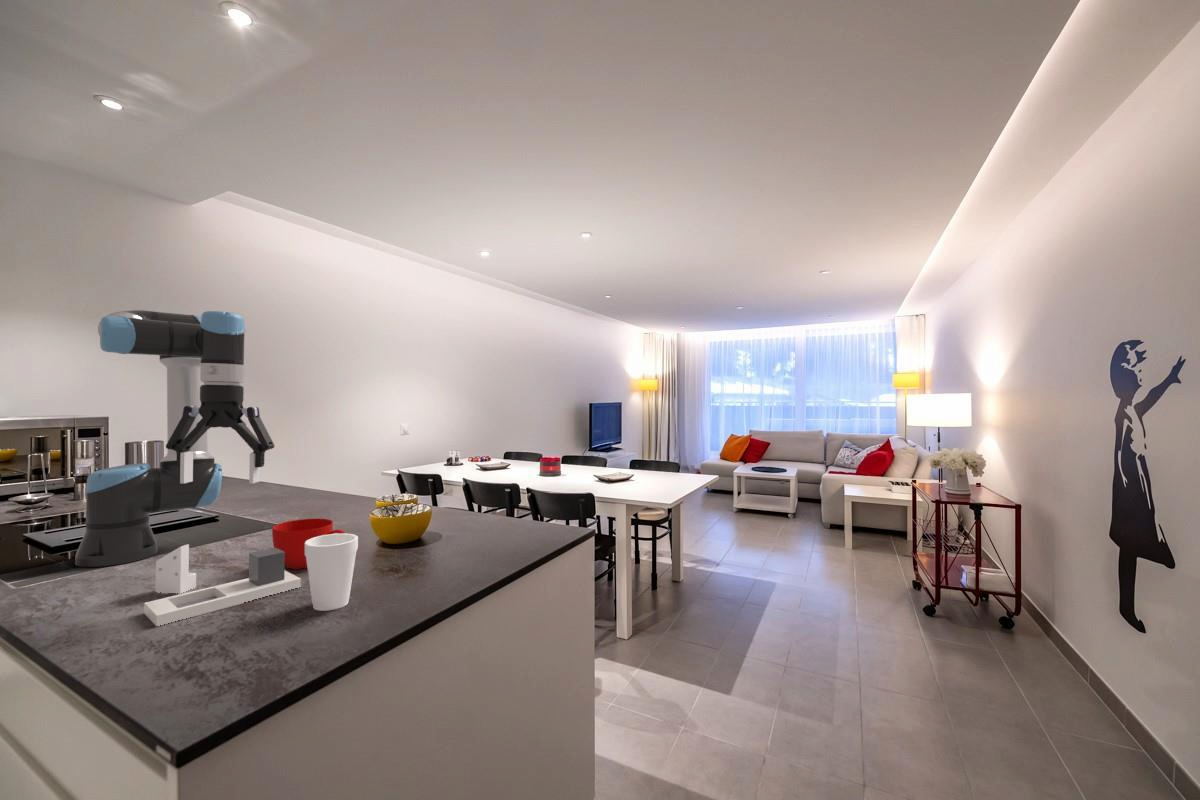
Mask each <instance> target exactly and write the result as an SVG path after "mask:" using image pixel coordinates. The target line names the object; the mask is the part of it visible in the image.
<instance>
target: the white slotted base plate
mask: <svg viewBox="0 0 1200 800" xmlns="http://www.w3.org/2000/svg"><path fill="white" fill-rule="evenodd" d="M285 566H286V565H285V552H284V551H281V550H279V549H277V548H274V547H273V548H272V547H271V548H268V549H263V550H262V549H261V550H259V551H258V550H257V551H252V552H249V553H248V577H247V578H243V579H239V580H235V581H231V582H227V583H226V582H225V583H221V584H218V585H217V584H216V585H214V586H208V587H206V588H202V589H197V590H194V591H192V590H191V591H187V592H184V593H182V594H174V595H172V596H168V597H163V598H160V599H154V600H151V601H146V602H144V605H143V606H144V607H143V610H144V611H143V613H144V615H145V616H146V617H147V618H148V619H149V620H150V622H152V624H153V625H154V626H155V627H157V626H158V627H161V626H164V624H165V625H168V623H169V624H172V623H176V622H179V621H178V620H180V621H183V620H186V618H187V619H190V617H191V618H194V617H197V616H202V615H205V614H209V613H213V612H216V611H219V610H224V609H227V608H231V607H234V606H238V605H242V604H245V603H244V602H246V603H249V602H248V601H250V602H253V601H252V600H254V599H257V600H259V599H258V598H261V599H263V598H262V597H265V596H268V597H270V596H269V595H272V596H274V595H273V594H276V595H278V594H277V593H279V594H281V593H280V592H283V593H286V592H285V591H287V592H289V591H288V590H290V591H292V590H291V589H294V590H296V589H295V588H298V589H300V588H299V587H302V578H301V577H299V576H297V575H295V574H293V573H291V572H289V571H287V570H286V567H285ZM265 598H266V597H265ZM254 601H255V600H254ZM182 619H183V620H182ZM175 621H176V622H175ZM171 622H172V623H171ZM160 625H161V626H160Z"/></svg>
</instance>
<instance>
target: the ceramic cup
mask: <svg viewBox="0 0 1200 800" xmlns="http://www.w3.org/2000/svg"><path fill="white" fill-rule="evenodd" d="M333 529H334V521H333V520H331V519H327V518H301V519H294V520H290V521H285V522H284V521H283V522H280V523H277V524H276V525H274V526H273V527H272V529H271V533H272V534H271V535H272V536H271V537H272V544H273V545H272V546H273V548H277V549H279V550H281V551H284V552H285V566H286V567H288V568H287V569H289V568H293V569H292V570H299V569H298V568H304V569H308V568H307V561H306V556H305V542H306V541H307V540H309V539H311V538H314V537H318V536H322V535H329V534H344V533H345V531H344V530H342V529H339V528H338V529H334V530H333Z"/></svg>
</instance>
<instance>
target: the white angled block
mask: <svg viewBox="0 0 1200 800" xmlns="http://www.w3.org/2000/svg"><path fill="white" fill-rule="evenodd" d="M189 561H190V544H189V543H188V544H184V545H181V546H179V547H178V548H175V549H174V550H173V551H170V552H169V553H167V554H166V555H163V556H162V557H160V558H159V559H157V560H155V593H156V592H157V593H156V594H168V593H176V594H175V595H180V594H181V593H182V594H184V593H187V592H189V591H191V590H190V589H192V590H194V589H196V588H197V573H194V572H189V569H190V567H189V566H190V565H189V564H190V563H189ZM195 587H196V588H195ZM193 588H194V589H193ZM188 590H189V591H188ZM186 591H187V592H186ZM160 592H161V593H160ZM183 592H184V593H183ZM177 593H178V594H177Z"/></svg>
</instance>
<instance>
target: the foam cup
mask: <svg viewBox="0 0 1200 800" xmlns="http://www.w3.org/2000/svg"><path fill="white" fill-rule="evenodd" d="M358 547H359V536H358V535H356V534H354V533H345V532H344V534H340V533H334V534H329V535H322V536H318V537H314V538H311V539H309V540H307V541H306V542H305V556H306V561H307V568H306V569H307V574H308V581H309V582H308V583H309V589H310V595H311V596H310V597H311V602H312V608H313V610H315V611H321V612H323V611H324V612H325V611H327V612H328V611H334V610H338V609H341V608H343V607H345V606H346V605H348V604H349V601H350V595H351V591H352V590H351V588H352V583H353V582H352V581H353V575H354V569H355V563H356V556H357V551H358V550H359V549H358Z"/></svg>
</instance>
